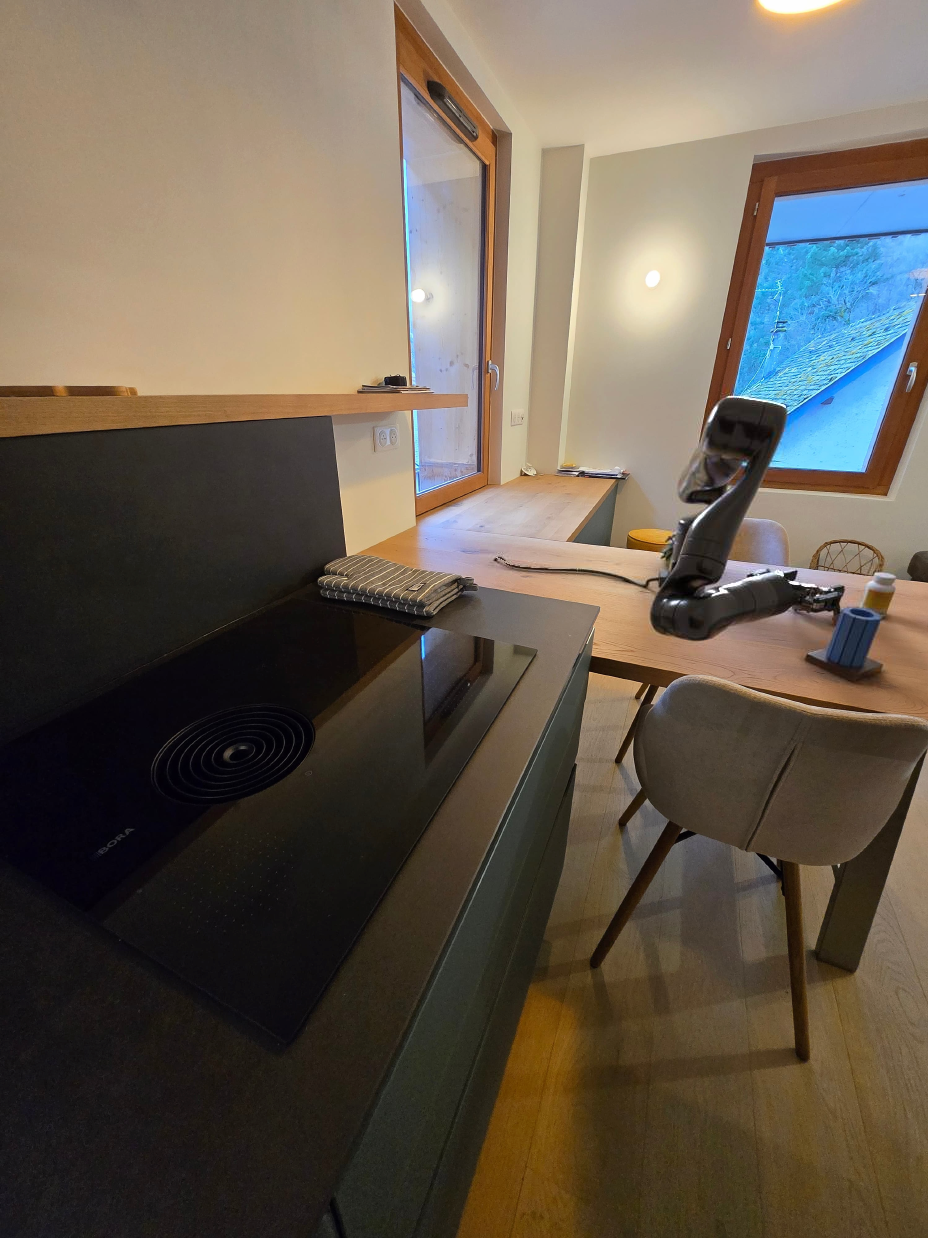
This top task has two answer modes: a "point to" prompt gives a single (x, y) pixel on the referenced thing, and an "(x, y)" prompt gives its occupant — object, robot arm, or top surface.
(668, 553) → the passion flower
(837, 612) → the brown curved piece
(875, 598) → the supplement bottle
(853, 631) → the fluted pencil holder
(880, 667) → the stand
